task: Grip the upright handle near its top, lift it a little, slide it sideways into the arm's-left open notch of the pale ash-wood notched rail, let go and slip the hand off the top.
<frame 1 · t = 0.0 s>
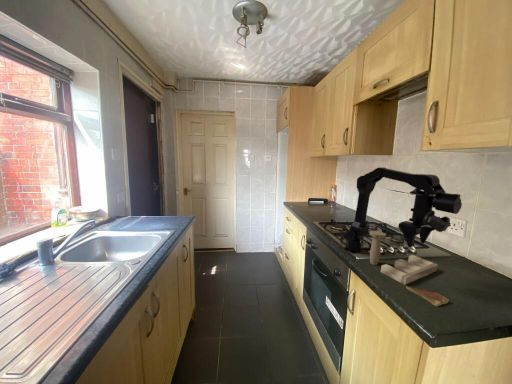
hand: (416, 244, 86), 15 cm above the countertop, tool pointing down, fingers open, 9 cm apart
shard: (426, 299, 77), on the countertop
handle: (373, 264, 100), on the countertop
notched rail: (408, 271, 94), on the countertop
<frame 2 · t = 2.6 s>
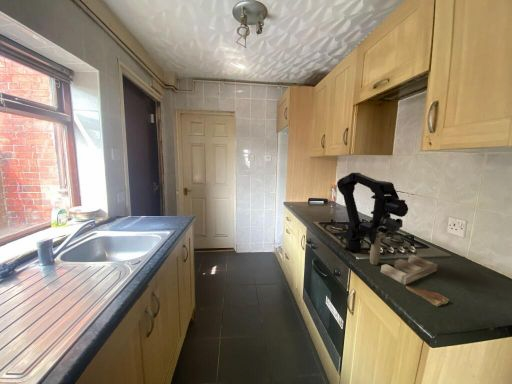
hand: (376, 243, 98), 10 cm above the countertop, tool pointing down, fingers closed on handle, 5 cm apart
handle: (373, 263, 100), on the countertop, touching gripper
everything else where it was.
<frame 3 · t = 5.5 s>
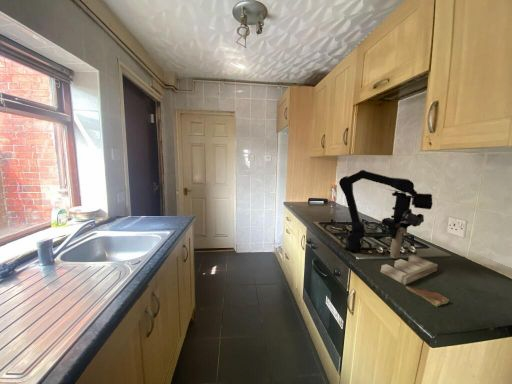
hand: (397, 237, 103), 11 cm above the countertop, tool pointing down, fingers closed on handle, 5 cm apart
handle: (393, 257, 104), point 1 cm above the countertop, touching gripper
everything else where it was.
when the fingers open (11 cm above the countertop, at t = 8.6 s): handle stays where it is, on the countertop.
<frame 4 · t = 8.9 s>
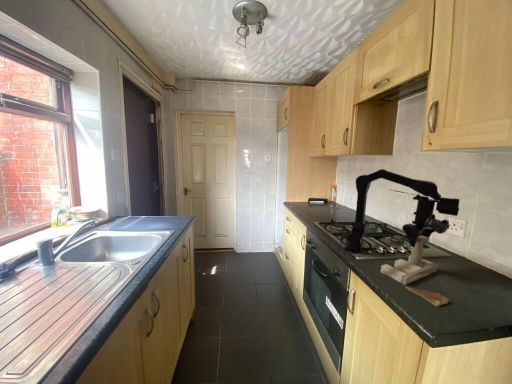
hand: (418, 245, 95), 11 cm above the countertop, tool pointing down, fingers open, 9 cm apart
handle: (414, 268, 97), on the countertop
everything else where it was.
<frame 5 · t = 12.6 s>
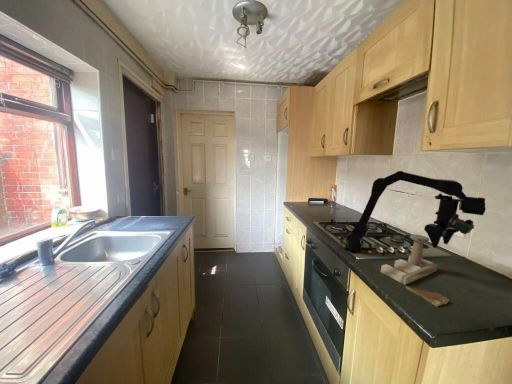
hand: (440, 245, 92), 12 cm above the countertop, tool pointing down, fingers open, 9 cm apart
nothing on the countertop moved.
at the end: handle 0.3 cm from the target spot on the notched rail, point 0.0 cm above the notched rail's base; handle tilted 0°; the gripper is holding nothing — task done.
